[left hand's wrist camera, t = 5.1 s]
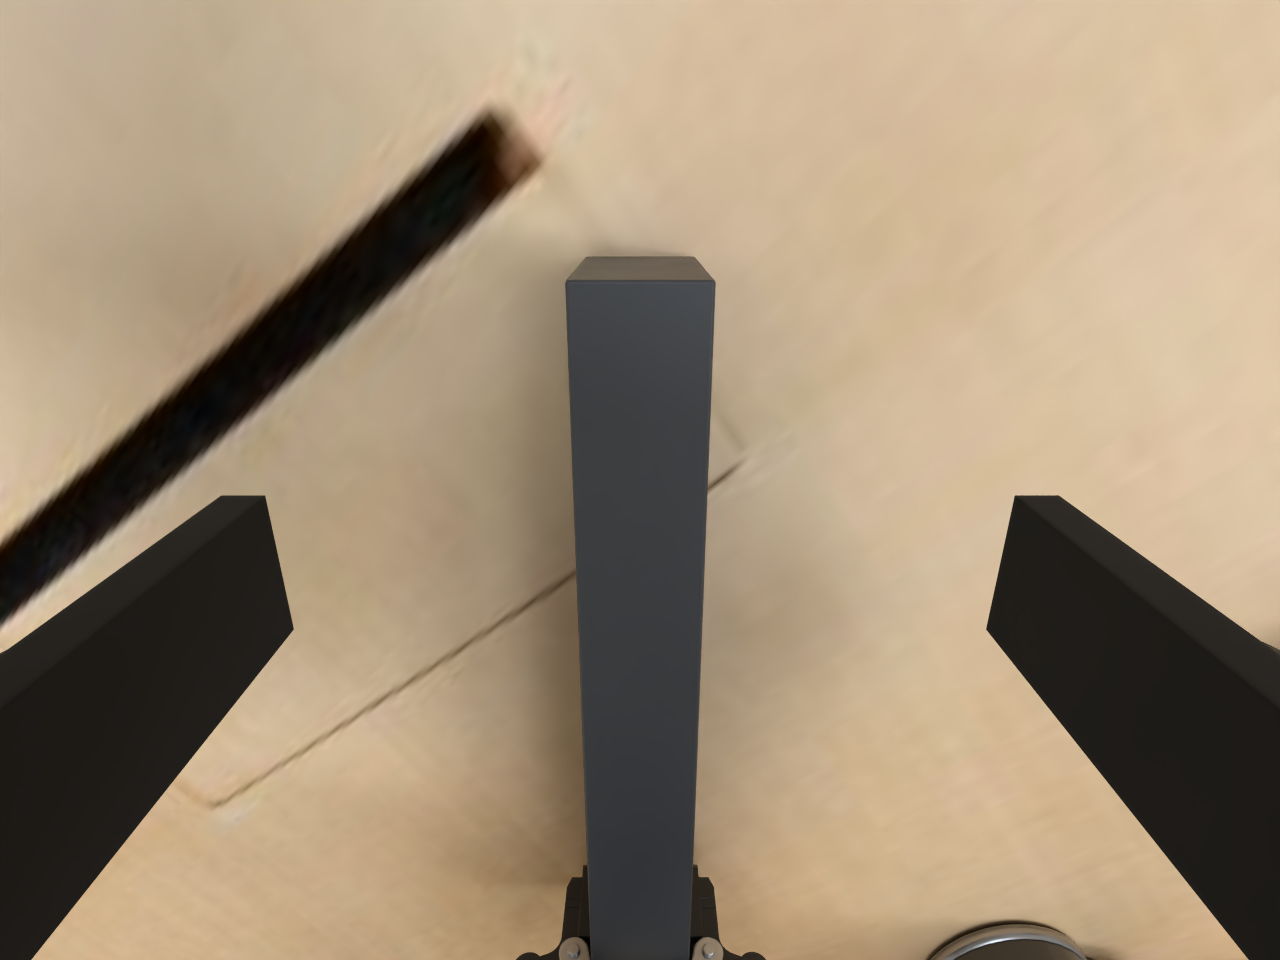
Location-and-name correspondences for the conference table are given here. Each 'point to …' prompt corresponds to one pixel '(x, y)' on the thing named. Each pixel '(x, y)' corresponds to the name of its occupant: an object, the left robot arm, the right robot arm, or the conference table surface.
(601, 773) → the rail
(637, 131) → the conference table surface
